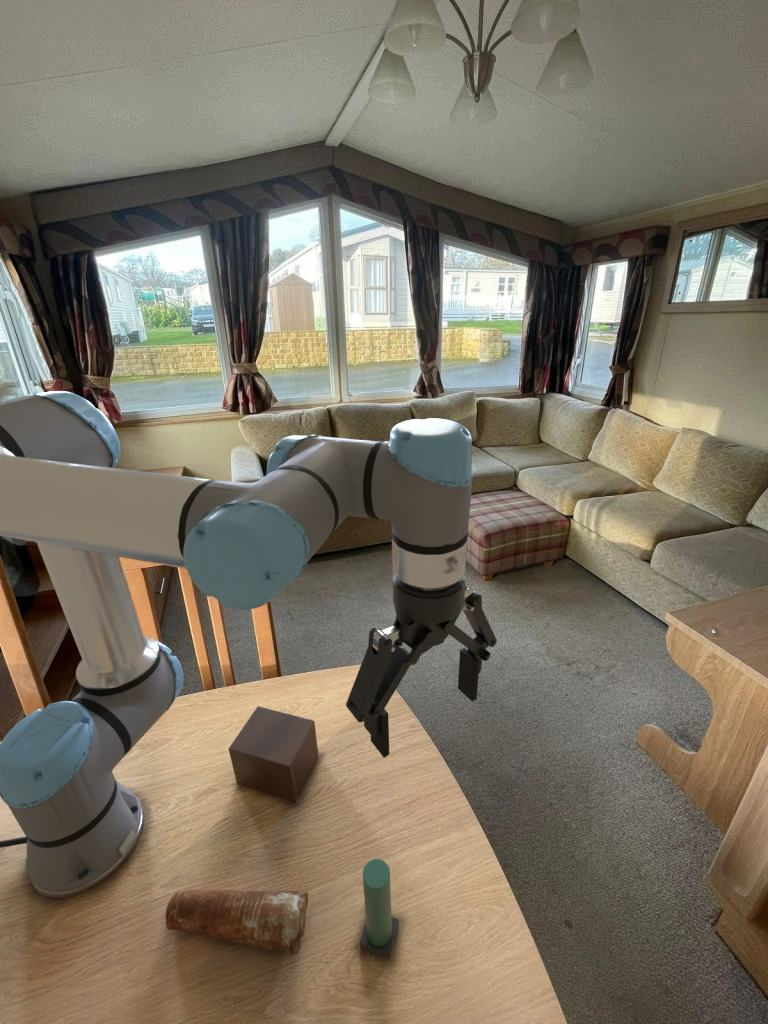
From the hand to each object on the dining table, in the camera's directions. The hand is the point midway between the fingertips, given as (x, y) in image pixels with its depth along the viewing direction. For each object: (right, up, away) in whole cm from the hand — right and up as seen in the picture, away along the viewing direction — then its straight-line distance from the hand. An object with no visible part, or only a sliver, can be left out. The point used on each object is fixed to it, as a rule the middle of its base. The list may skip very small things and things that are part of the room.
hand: (426, 719), depth 59 cm
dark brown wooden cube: (-23, -20, +25) cm, 39 cm away
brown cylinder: (-24, -30, +4) cm, 39 cm away
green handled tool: (-6, -29, +4) cm, 30 cm away
